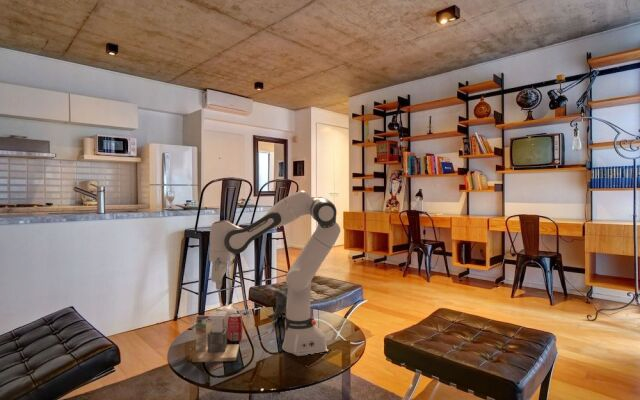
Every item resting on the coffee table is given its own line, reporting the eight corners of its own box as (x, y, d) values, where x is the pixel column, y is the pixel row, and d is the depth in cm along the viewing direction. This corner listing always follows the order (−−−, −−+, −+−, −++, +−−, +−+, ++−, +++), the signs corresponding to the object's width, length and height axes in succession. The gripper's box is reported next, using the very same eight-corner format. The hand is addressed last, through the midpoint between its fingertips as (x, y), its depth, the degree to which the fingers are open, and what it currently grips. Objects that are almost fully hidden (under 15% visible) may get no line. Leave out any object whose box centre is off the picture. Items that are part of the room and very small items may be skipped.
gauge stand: (239, 347, 169) (239, 310, 169) (235, 360, 155) (236, 320, 155) (198, 348, 167) (199, 311, 167) (191, 362, 153) (192, 321, 153)
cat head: (224, 336, 182) (224, 312, 182) (206, 331, 189) (206, 307, 189) (245, 327, 194) (245, 305, 194) (227, 323, 201) (228, 300, 201)
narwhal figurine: (297, 319, 210) (298, 288, 210) (272, 323, 202) (273, 291, 202) (287, 312, 222) (287, 283, 222) (263, 316, 215) (264, 285, 215)
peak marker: (201, 322, 160) (201, 320, 160) (201, 322, 159) (201, 320, 159) (198, 322, 159) (198, 320, 159) (197, 323, 159) (197, 320, 159)
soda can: (237, 335, 183) (237, 311, 183) (245, 339, 178) (245, 315, 178) (224, 339, 178) (225, 314, 178) (232, 343, 173) (232, 318, 173)
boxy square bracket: (226, 331, 167) (227, 310, 167) (224, 337, 160) (225, 315, 160) (199, 332, 165) (200, 311, 165) (196, 338, 158) (197, 316, 158)
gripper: (223, 260, 153) (222, 293, 153) (229, 253, 173) (228, 282, 173) (208, 260, 152) (207, 293, 152) (216, 253, 172) (215, 282, 172)
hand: (218, 287), depth 163 cm, fingers open, 3 cm apart
